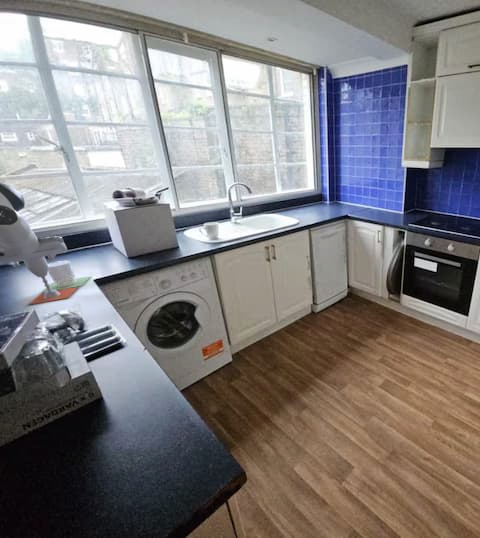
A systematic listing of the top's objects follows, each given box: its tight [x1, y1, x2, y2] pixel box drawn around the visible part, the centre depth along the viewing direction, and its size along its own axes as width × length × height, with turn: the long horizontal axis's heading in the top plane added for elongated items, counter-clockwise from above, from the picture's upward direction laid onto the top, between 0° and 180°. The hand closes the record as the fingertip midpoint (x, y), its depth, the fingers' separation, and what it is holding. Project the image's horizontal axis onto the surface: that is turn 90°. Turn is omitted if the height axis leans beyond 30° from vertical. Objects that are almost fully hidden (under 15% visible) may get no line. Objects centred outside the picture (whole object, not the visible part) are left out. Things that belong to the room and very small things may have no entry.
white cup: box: [48, 259, 77, 287], centre depth 131 cm, size 8×8×10 cm
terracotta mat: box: [28, 287, 79, 306], centre depth 123 cm, size 12×11×1 cm
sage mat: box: [42, 276, 90, 293], centre depth 133 cm, size 13×11×1 cm
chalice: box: [22, 256, 61, 299], centre depth 119 cm, size 7×7×18 cm
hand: (34, 261), depth 111 cm, fingers open, 8 cm apart
